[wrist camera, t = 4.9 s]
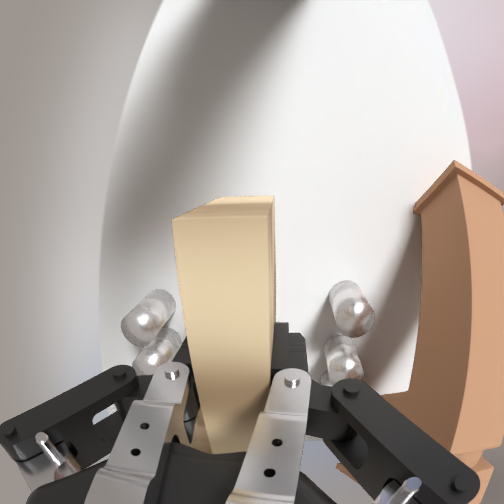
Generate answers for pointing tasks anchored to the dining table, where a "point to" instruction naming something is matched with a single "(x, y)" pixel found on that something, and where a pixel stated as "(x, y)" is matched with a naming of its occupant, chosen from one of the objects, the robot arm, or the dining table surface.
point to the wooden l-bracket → (228, 313)
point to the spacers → (169, 341)
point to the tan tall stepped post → (459, 321)
